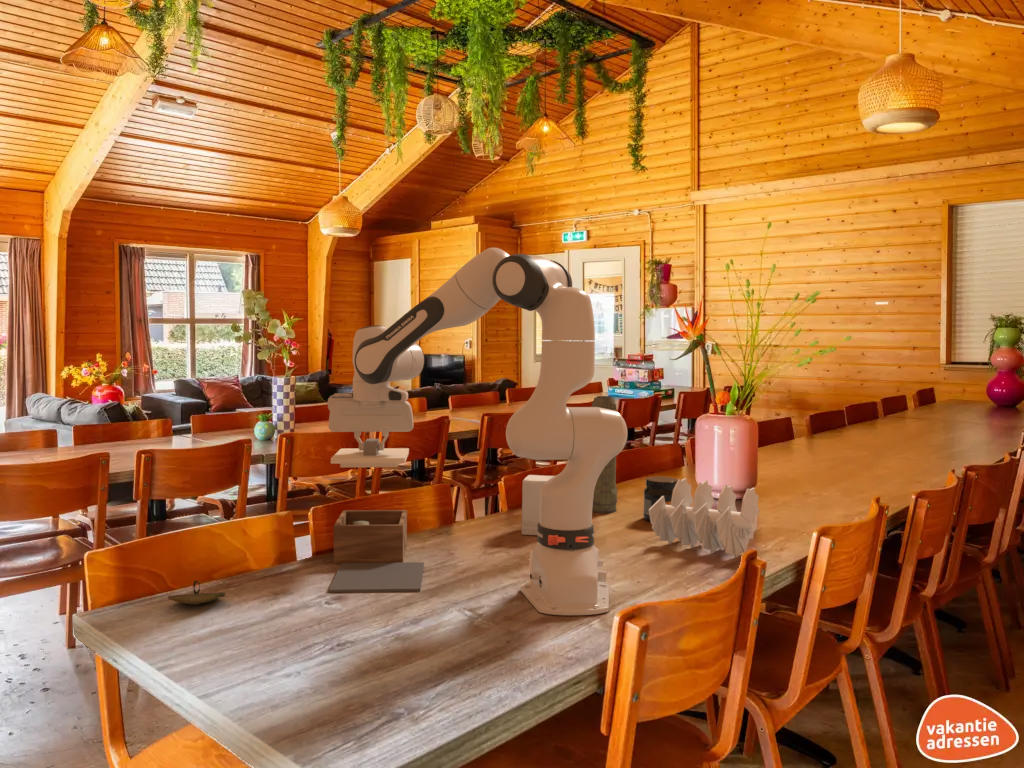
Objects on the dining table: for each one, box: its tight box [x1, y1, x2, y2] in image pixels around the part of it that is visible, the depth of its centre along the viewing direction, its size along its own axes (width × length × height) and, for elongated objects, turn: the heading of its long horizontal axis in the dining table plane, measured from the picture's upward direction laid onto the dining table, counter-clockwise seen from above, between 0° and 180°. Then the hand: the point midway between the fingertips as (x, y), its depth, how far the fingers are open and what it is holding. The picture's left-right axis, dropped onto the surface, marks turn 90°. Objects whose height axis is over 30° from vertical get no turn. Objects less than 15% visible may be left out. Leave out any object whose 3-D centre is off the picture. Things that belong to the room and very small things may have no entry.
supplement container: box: [642, 476, 679, 523], centre depth 233 cm, size 10×10×12 cm
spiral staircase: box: [649, 477, 760, 559], centre depth 201 cm, size 18×18×25 cm
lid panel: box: [330, 438, 410, 468], centre depth 193 cm, size 17×17×5 cm
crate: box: [333, 509, 408, 565], centre depth 195 cm, size 16×16×9 cm
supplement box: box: [521, 474, 555, 536], centre depth 217 cm, size 9×9×15 cm
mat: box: [328, 561, 425, 594], centre depth 176 cm, size 19×19×1 cm
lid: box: [167, 580, 226, 606], centre depth 157 cm, size 11×10×5 cm
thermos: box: [591, 395, 618, 514], centre depth 244 cm, size 9×12×35 cm
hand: (371, 450), depth 193 cm, fingers closed on lid panel, 3 cm apart
